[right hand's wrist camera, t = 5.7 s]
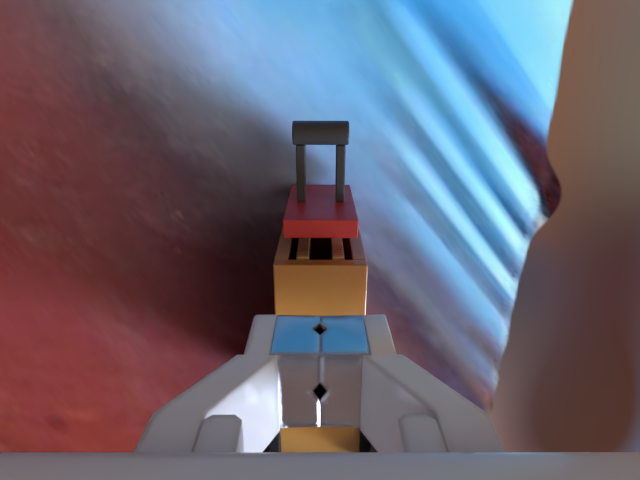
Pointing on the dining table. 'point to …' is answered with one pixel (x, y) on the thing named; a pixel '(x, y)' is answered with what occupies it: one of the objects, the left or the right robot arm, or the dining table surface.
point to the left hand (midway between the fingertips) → (320, 387)
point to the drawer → (320, 197)
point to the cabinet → (320, 300)
